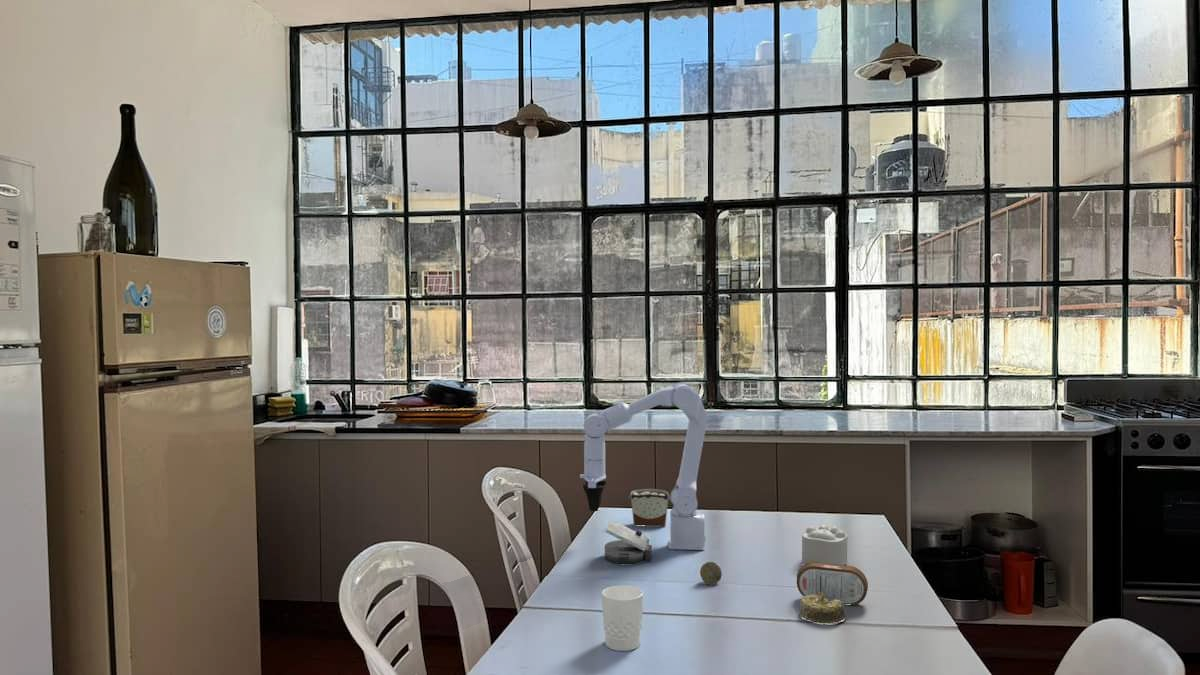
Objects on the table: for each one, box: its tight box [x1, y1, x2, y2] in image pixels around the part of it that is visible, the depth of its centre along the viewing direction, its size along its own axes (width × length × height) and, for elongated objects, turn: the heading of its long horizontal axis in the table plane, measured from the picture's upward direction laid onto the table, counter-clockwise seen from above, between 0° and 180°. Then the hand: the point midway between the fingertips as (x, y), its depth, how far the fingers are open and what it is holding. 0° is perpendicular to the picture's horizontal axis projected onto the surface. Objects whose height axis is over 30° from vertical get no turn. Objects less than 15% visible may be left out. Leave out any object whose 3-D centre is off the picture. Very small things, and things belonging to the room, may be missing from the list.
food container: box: [628, 488, 671, 527], centre depth 237 cm, size 12×6×10 cm, turn 84°
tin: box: [796, 562, 869, 606], centre depth 172 cm, size 15×3×8 cm, turn 71°
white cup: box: [601, 585, 644, 652], centre depth 151 cm, size 8×8×10 cm
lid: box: [605, 519, 650, 551], centre depth 204 cm, size 12×10×2 cm
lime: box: [699, 561, 723, 586], centre depth 185 cm, size 4×5×5 cm
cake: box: [798, 592, 847, 623], centre depth 165 cm, size 10×10×5 cm
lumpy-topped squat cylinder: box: [801, 524, 848, 565], centre depth 201 cm, size 10×13×9 cm
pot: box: [604, 539, 653, 565], centre depth 204 cm, size 12×17×3 cm
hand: (594, 508), depth 214 cm, fingers open, 4 cm apart
